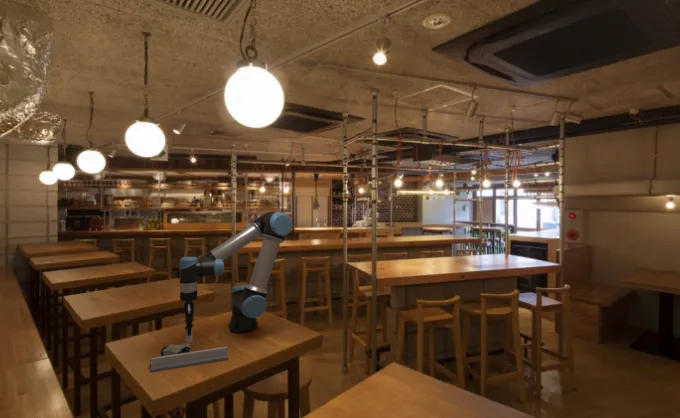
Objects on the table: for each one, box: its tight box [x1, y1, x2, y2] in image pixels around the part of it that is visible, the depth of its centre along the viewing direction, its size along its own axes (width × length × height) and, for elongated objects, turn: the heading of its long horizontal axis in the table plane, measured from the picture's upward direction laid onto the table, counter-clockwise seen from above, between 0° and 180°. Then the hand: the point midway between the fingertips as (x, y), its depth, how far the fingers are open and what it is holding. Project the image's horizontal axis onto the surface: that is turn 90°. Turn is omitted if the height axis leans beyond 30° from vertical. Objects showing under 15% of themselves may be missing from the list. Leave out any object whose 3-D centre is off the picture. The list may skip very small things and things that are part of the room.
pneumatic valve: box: [160, 342, 192, 357], centre depth 168 cm, size 6×12×12 cm
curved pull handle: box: [150, 345, 229, 373], centre depth 164 cm, size 30×10×4 cm, turn 113°
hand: (189, 341), depth 176 cm, fingers closed
